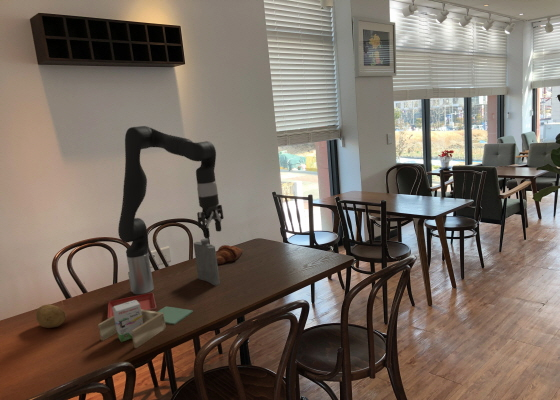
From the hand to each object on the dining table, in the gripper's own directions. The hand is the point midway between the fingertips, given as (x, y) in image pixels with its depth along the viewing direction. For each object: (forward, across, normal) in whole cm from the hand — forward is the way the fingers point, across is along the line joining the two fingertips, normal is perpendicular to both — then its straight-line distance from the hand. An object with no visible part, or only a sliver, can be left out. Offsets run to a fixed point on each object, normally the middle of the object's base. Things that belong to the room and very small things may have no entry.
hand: (212, 234), depth 169 cm
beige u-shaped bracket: (+29, +31, -18) cm, 46 cm away
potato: (+29, +34, -56) cm, 72 cm away
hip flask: (+29, -20, -19) cm, 40 cm away
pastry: (+29, -50, -26) cm, 63 cm away
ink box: (+29, +32, -18) cm, 47 cm away
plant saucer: (+30, +15, -33) cm, 47 cm away
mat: (+29, +15, -14) cm, 35 cm away
